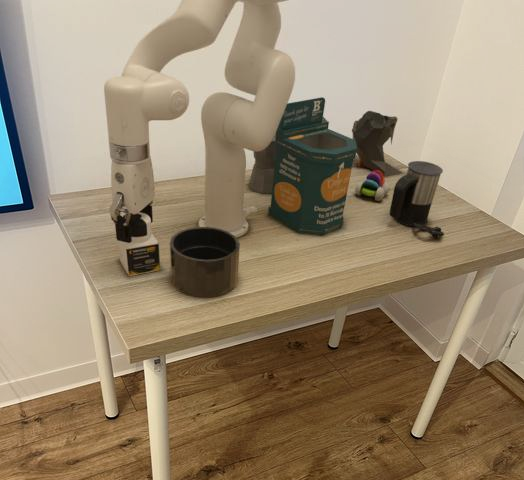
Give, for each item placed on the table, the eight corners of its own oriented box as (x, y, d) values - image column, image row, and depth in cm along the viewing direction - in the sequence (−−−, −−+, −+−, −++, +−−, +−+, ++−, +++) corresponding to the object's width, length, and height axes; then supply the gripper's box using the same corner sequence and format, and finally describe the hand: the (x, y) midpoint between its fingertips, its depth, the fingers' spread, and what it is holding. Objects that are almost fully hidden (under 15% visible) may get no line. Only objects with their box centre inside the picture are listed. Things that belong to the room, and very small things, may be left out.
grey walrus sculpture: (371, 156, 183) (382, 101, 171) (402, 172, 173) (416, 115, 162) (339, 162, 176) (349, 104, 165) (369, 179, 167) (382, 120, 155)
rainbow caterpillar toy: (390, 194, 159) (396, 171, 154) (377, 205, 152) (383, 180, 148) (364, 186, 162) (369, 163, 157) (351, 196, 156) (356, 172, 151)
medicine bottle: (128, 277, 114) (123, 226, 107) (119, 260, 119) (113, 211, 111) (160, 270, 117) (157, 221, 109) (150, 255, 122) (146, 206, 114)
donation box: (310, 201, 151) (325, 96, 133) (352, 224, 142) (374, 114, 124) (267, 215, 142) (278, 104, 124) (310, 240, 133) (327, 125, 115)
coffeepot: (238, 182, 157) (241, 119, 146) (263, 176, 162) (268, 114, 150) (270, 202, 148) (276, 136, 137) (295, 195, 153) (303, 131, 141)
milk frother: (402, 208, 152) (415, 157, 142) (454, 226, 146) (472, 174, 136) (380, 225, 143) (393, 172, 133) (436, 245, 136) (454, 191, 127)
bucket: (209, 256, 124) (209, 220, 118) (251, 283, 116) (253, 247, 110) (158, 276, 116) (156, 239, 110) (199, 306, 108) (199, 268, 102)
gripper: (126, 168, 94) (132, 253, 105) (166, 140, 107) (168, 218, 118) (88, 160, 95) (98, 245, 106) (132, 133, 109) (137, 211, 119)
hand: (135, 231), depth 112 cm, fingers open, 9 cm apart
